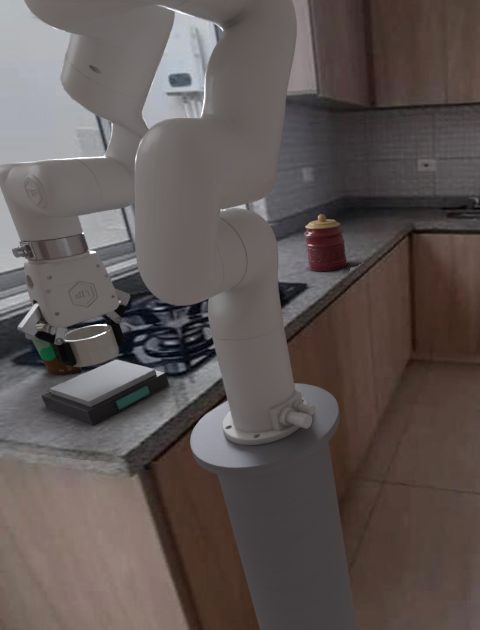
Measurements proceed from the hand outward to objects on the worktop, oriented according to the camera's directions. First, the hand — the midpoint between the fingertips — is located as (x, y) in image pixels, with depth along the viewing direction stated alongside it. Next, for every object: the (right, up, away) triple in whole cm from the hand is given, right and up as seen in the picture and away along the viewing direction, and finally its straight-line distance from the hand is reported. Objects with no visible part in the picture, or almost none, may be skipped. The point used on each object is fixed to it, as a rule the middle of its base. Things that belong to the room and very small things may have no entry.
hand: (93, 353), depth 73 cm
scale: (+1, -8, +3) cm, 8 cm away
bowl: (0, -1, 0) cm, 1 cm away
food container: (-17, -4, +14) cm, 23 cm away
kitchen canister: (+23, +23, +78) cm, 84 cm away
